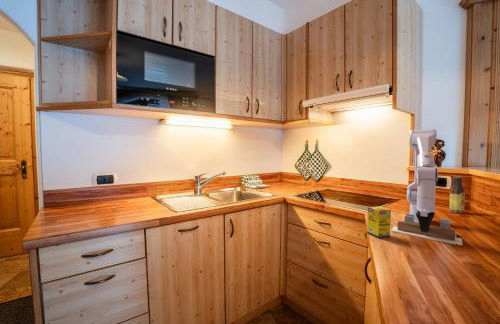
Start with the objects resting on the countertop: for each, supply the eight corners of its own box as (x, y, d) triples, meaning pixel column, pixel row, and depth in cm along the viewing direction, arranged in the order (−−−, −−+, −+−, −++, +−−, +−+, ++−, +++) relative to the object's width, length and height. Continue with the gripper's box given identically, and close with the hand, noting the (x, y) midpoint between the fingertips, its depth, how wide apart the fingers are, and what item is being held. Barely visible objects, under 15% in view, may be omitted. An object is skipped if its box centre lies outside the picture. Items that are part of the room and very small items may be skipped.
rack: (401, 224, 106) (401, 212, 106) (456, 234, 94) (456, 220, 94) (398, 227, 102) (399, 215, 101) (456, 238, 89) (457, 224, 89)
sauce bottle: (464, 214, 124) (466, 177, 123) (449, 212, 127) (450, 177, 127) (463, 212, 129) (464, 176, 128) (448, 210, 133) (449, 176, 132)
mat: (394, 227, 102) (394, 226, 102) (461, 240, 87) (461, 238, 87) (391, 231, 96) (391, 230, 96) (462, 245, 82) (462, 244, 82)
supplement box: (378, 238, 89) (379, 210, 88) (366, 233, 94) (367, 206, 94) (390, 237, 90) (391, 209, 90) (378, 232, 96) (379, 206, 96)
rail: (398, 227, 99) (398, 220, 99) (454, 238, 87) (455, 230, 87) (397, 229, 96) (397, 222, 96) (454, 240, 85) (455, 232, 84)
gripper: (415, 193, 99) (414, 224, 100) (411, 198, 88) (410, 233, 89) (436, 195, 94) (435, 228, 95) (434, 200, 84) (433, 237, 84)
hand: (424, 230), depth 92 cm, fingers closed on rail, 3 cm apart
